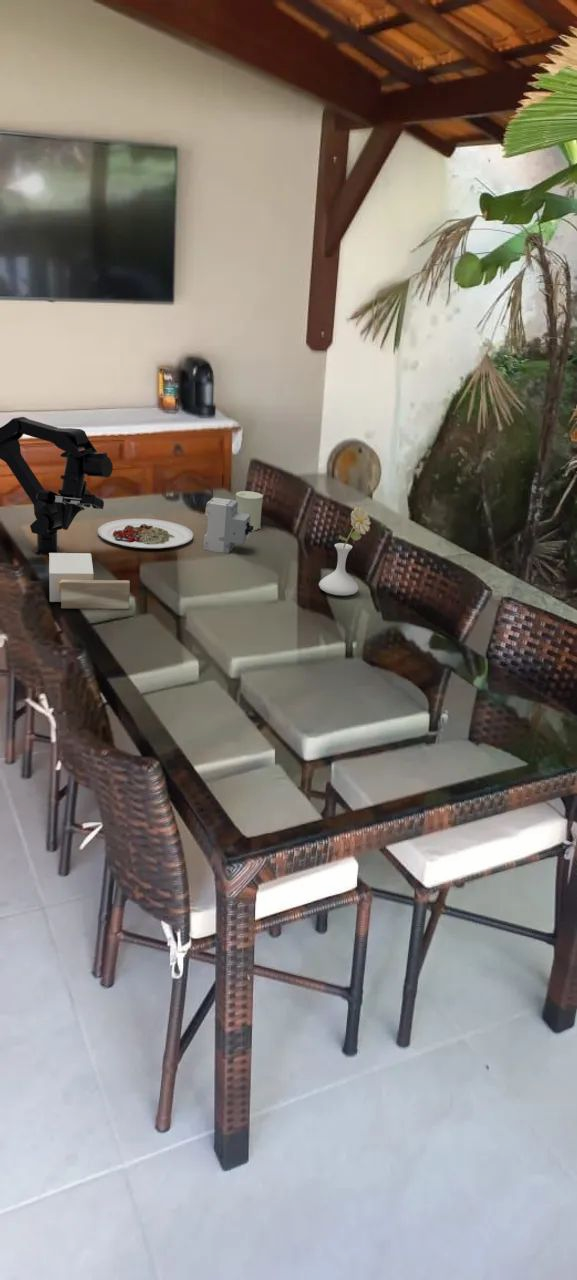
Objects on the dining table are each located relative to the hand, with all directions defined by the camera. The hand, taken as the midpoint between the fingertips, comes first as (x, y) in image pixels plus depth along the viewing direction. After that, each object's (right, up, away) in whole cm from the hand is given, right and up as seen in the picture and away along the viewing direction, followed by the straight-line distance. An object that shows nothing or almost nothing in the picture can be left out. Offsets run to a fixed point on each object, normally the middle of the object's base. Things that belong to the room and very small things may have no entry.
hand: (64, 529), depth 258 cm
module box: (+5, -18, -12) cm, 22 cm away
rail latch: (+8, -18, -21) cm, 29 cm away
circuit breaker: (+44, -3, +32) cm, 54 cm away
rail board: (+13, -22, -21) cm, 33 cm away
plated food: (+17, +2, +37) cm, 40 cm away
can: (+48, +7, +56) cm, 74 cm away
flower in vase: (+77, -17, +6) cm, 80 cm away
